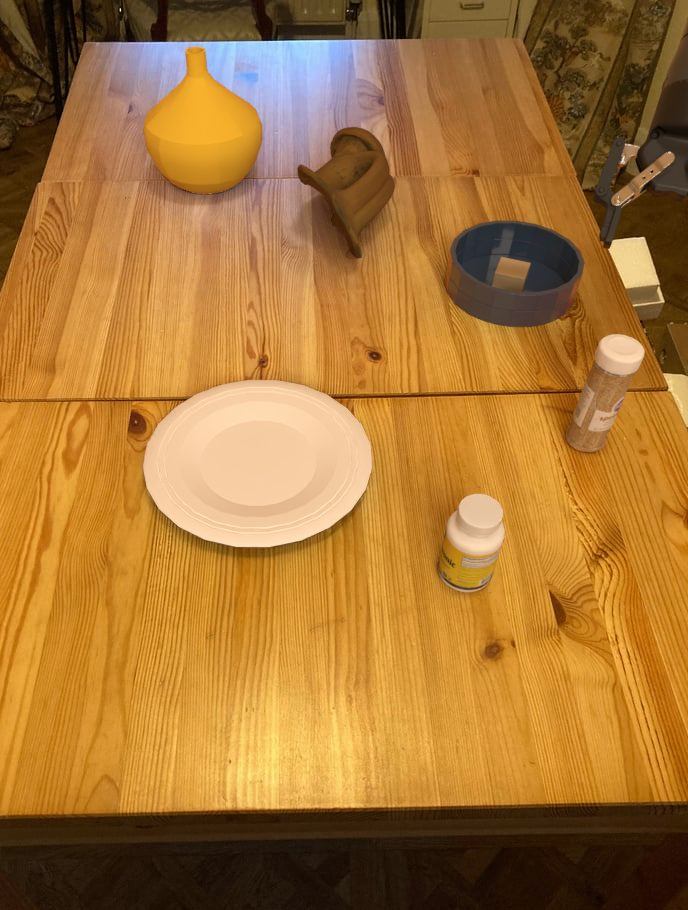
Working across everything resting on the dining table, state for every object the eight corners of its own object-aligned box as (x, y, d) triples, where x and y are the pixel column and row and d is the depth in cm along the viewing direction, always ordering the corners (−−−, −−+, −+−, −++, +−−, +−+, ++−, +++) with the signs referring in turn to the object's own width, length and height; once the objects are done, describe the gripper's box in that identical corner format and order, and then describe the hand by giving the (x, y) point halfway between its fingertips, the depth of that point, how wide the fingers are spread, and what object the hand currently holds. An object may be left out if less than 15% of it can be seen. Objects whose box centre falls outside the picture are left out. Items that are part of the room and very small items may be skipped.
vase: (136, 203, 120) (112, 71, 105) (169, 147, 131) (152, 22, 117) (250, 214, 118) (243, 82, 103) (274, 157, 129) (270, 30, 115)
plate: (117, 543, 78) (113, 531, 77) (176, 381, 94) (174, 369, 93) (360, 570, 76) (362, 559, 75) (379, 400, 92) (380, 388, 90)
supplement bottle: (434, 548, 78) (448, 485, 70) (488, 550, 78) (508, 487, 70) (438, 593, 75) (453, 532, 67) (494, 595, 75) (516, 534, 67)
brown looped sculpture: (235, 185, 109) (321, 104, 117) (269, 263, 118) (347, 182, 126) (336, 187, 98) (423, 96, 106) (365, 273, 107) (443, 183, 115)
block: (495, 282, 106) (501, 256, 103) (524, 288, 105) (531, 262, 102) (488, 298, 104) (494, 272, 101) (518, 304, 103) (525, 279, 100)
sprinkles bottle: (598, 459, 86) (639, 366, 76) (558, 444, 87) (593, 351, 77) (609, 434, 88) (650, 340, 78) (570, 420, 90) (606, 326, 79)
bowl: (558, 255, 111) (568, 220, 107) (585, 331, 100) (597, 295, 96) (438, 254, 111) (444, 219, 107) (452, 330, 100) (459, 294, 96)
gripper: (634, 64, 75) (582, 231, 77) (790, 88, 72) (732, 261, 74) (623, 99, 82) (576, 250, 84) (764, 122, 79) (712, 279, 81)
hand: (648, 255), depth 79 cm, fingers open, 8 cm apart
